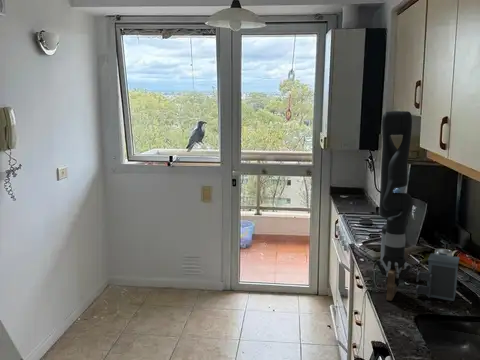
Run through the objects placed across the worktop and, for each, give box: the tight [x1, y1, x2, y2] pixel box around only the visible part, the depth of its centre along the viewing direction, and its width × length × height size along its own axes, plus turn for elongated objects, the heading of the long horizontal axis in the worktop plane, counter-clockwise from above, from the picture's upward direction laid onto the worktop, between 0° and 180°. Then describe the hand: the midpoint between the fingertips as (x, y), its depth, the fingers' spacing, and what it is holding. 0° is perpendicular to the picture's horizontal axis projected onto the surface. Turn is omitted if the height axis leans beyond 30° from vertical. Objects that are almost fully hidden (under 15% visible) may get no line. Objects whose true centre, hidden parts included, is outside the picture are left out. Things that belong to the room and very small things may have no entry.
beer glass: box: [434, 248, 453, 256], centre depth 200 cm, size 7×7×15 cm
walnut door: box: [386, 269, 399, 302], centre depth 189 cm, size 12×3×11 cm, turn 152°
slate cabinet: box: [415, 252, 460, 302], centre depth 190 cm, size 12×14×15 cm
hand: (392, 286), depth 190 cm, fingers closed on walnut door, 2 cm apart
